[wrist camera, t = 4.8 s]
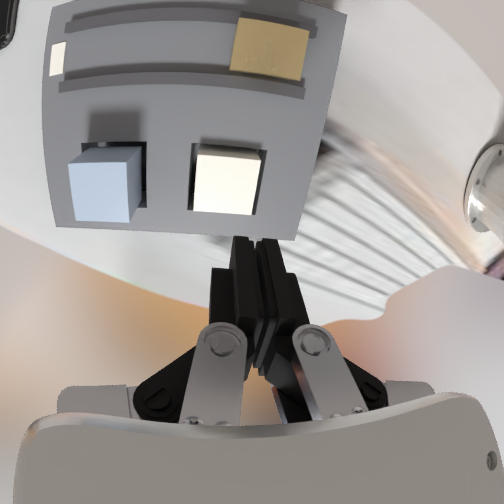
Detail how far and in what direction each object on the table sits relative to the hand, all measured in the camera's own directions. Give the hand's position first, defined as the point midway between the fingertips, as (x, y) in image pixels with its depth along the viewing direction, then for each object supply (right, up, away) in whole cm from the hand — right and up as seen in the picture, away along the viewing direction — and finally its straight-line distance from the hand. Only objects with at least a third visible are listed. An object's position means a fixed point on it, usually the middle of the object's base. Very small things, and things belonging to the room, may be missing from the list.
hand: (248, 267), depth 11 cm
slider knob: (+1, +13, +2) cm, 13 cm away
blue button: (-10, +6, +6) cm, 13 cm away
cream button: (-2, +7, +9) cm, 12 cm away
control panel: (-5, +11, +6) cm, 14 cm away
